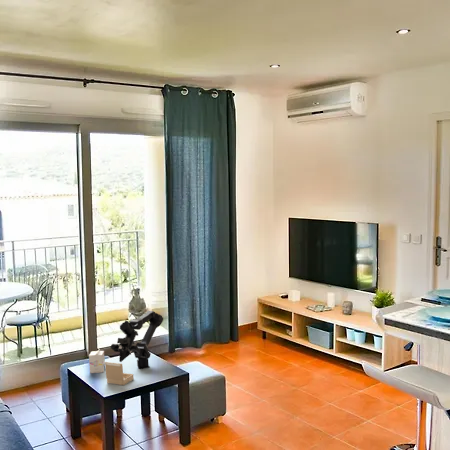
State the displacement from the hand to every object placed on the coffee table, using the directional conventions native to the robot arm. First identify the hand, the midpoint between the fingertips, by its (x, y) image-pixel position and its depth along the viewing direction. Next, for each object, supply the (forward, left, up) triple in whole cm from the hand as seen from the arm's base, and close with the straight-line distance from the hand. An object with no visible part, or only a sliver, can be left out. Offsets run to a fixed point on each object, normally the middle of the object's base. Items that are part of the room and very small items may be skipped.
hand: (120, 361), depth 301 cm
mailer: (+1, +1, -12) cm, 12 cm away
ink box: (+11, -25, -12) cm, 30 cm away
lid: (+4, +4, -4) cm, 7 cm away
